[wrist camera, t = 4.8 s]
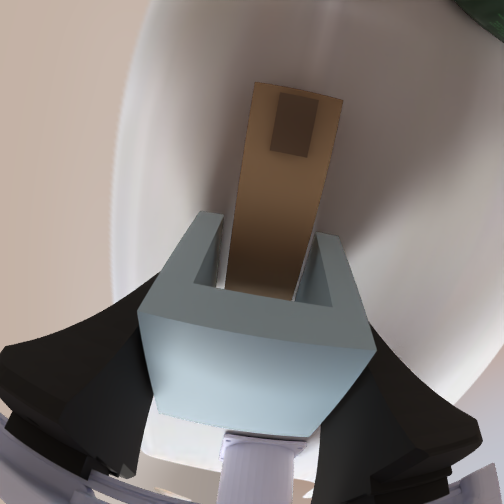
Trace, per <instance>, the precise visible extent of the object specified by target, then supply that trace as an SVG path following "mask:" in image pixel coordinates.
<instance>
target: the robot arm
mask: <svg viewBox="0 0 504 504" xmlns="http://www.w3.org/2000/svg"><path fill="white" fill-rule="evenodd" d="M160 272H161V271H160ZM160 272H159V273H160ZM159 273H157V274H156V275H155V276H153V277H152V278H151V279H149V280H148V281H147V282H145V283H144V284H143V285H141V286H140V287H138V288H137V289H136V290H134V291H133V292H132V293H130V294H129V295H127V296H126V297H124V298H122V299H121V300H119V301H118V302H116V303H115V304H113V305H112V306H110V307H108V308H107V309H105V310H103V311H102V312H99V313H98V314H96V315H94V316H92V317H90V318H88V319H86V320H84V321H82V322H79V323H77V324H75V325H72V326H70V327H68V328H66V329H64V330H61V331H58V332H55V333H53V334H50V335H47V336H44V337H41V338H37V339H34V340H30V341H26V342H22V343H18V344H14V345H9V346H5V347H4V349H3V350H2V351H1V353H0V398H1V399H2V401H3V402H4V403H5V404H6V405H7V406H8V407H9V408H10V409H11V410H12V411H13V412H12V413H11V416H10V417H9V419H8V418H6V417H5V416H4V415H3V414H1V413H0V498H1V499H2V500H3V501H4V502H5V503H6V504H109V503H107V502H105V501H102V500H100V499H97V498H96V497H95V495H94V492H93V490H92V489H94V490H96V491H98V492H100V493H103V494H105V495H107V496H110V497H112V498H115V499H117V500H120V501H122V502H125V503H128V504H199V503H194V502H189V501H185V500H181V499H176V498H173V497H169V496H165V495H161V494H158V493H154V492H151V491H148V490H145V489H142V488H139V487H136V486H133V485H130V484H127V483H125V482H122V481H119V480H117V479H114V478H112V477H109V474H110V475H113V476H115V477H119V476H120V477H123V478H125V479H129V478H131V477H134V476H135V475H136V470H137V464H138V458H139V453H140V447H141V443H142V438H143V434H144V429H145V425H146V421H147V417H148V413H149V410H150V406H151V402H152V399H153V395H154V393H153V389H152V385H151V381H150V377H149V372H148V368H147V363H146V358H145V353H144V348H143V343H142V338H141V332H140V326H139V320H138V314H137V310H138V308H139V307H140V305H141V303H142V301H143V300H144V298H145V296H146V295H147V293H148V291H149V290H150V288H151V286H152V285H153V283H154V281H155V280H156V278H157V277H158V275H159ZM368 322H369V321H368ZM369 325H370V329H371V332H372V335H373V339H374V342H375V346H376V349H377V351H376V352H375V354H374V355H373V357H372V358H371V360H370V361H369V363H368V364H367V366H366V367H365V368H364V370H363V371H362V373H361V374H360V375H359V377H358V378H357V379H356V381H355V382H354V383H353V385H352V386H351V387H350V389H349V390H348V391H347V393H346V394H345V395H344V396H343V398H342V399H341V400H340V402H339V403H338V404H337V405H336V406H335V408H334V409H333V410H332V411H331V412H330V414H329V415H328V416H327V417H326V418H325V420H324V421H323V422H322V423H321V433H320V447H319V457H318V466H317V473H316V480H315V485H314V491H313V496H312V500H311V504H502V500H501V493H500V487H499V482H498V477H497V472H496V468H495V464H494V463H491V464H489V465H487V466H485V467H483V468H481V469H479V470H477V471H475V472H473V473H471V474H469V475H467V476H465V477H464V478H462V479H461V480H459V481H456V482H454V483H452V484H449V485H448V480H447V476H450V475H451V474H452V469H451V465H453V464H455V463H456V462H458V461H460V460H461V459H463V458H464V457H466V456H468V455H469V454H470V453H472V452H473V451H475V450H476V449H477V448H478V447H479V446H480V445H481V444H482V442H483V440H482V436H481V432H480V429H479V426H478V422H477V420H476V419H475V418H473V417H471V416H470V415H468V414H466V413H465V412H463V411H461V410H459V409H458V408H456V407H455V406H453V405H452V404H450V403H449V402H448V401H446V400H445V399H443V398H442V397H441V396H439V395H438V394H437V393H436V392H434V391H433V390H432V389H431V388H429V387H428V386H427V385H426V384H425V383H424V382H422V381H421V380H420V379H419V378H418V377H417V376H416V375H415V374H414V373H413V372H412V371H411V370H410V369H409V368H408V367H407V366H406V365H405V364H404V363H403V362H402V361H401V360H400V359H399V358H398V357H397V356H396V355H395V354H394V352H393V351H392V350H391V349H390V348H389V347H388V345H387V344H386V343H385V342H384V341H383V339H382V338H381V337H380V336H379V334H378V333H377V332H376V331H375V329H374V328H373V327H372V325H371V324H370V323H369ZM306 447H307V443H306V442H298V441H282V440H270V439H261V438H252V437H245V436H238V435H231V434H225V435H224V438H223V442H222V447H221V451H220V455H219V461H222V462H223V465H222V471H221V478H220V483H219V489H218V495H217V501H216V504H292V498H293V476H294V458H295V457H296V456H297V455H298V454H300V453H301V452H302V451H303V450H304V449H305V448H306Z"/></svg>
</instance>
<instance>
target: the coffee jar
mask: <svg viewBox="0 0 504 504" xmlns="http://www.w3.org/2000/svg"><path fill="white" fill-rule="evenodd" d="M454 1H455V2H456V3H457V4H458V5H459V6H460V7H461V8H462V9H463V10H464V11H465V12H466V13H467V14H468V15H469V16H470V17H471V18H473V19H474V20H475V21H476V22H477V23H478V24H479V25H480V26H482V27H483V28H484V29H486V30H487V31H488V32H490V33H491V34H492V35H493V36H495V37H496V38H498V39H499V40H500V41H502V42H503V43H504V0H454Z"/></svg>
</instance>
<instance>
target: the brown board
mask: <svg viewBox="0 0 504 504" xmlns="http://www.w3.org/2000/svg"><path fill="white" fill-rule="evenodd" d="M342 104H343V100H341V99H337V98H333V97H329V96H325V95H321V94H317V93H313V92H308V91H304V90H299V89H294V88H289V87H284V86H278V85H272V84H266V83H259V82H255V85H254V91H253V97H252V103H251V109H250V115H249V121H248V127H247V133H246V140H245V146H244V152H243V159H242V165H241V172H240V179H239V186H238V192H237V199H236V206H235V213H234V221H233V228H232V235H231V243H230V250H229V258H228V265H227V273H226V281H225V290H231V291H236V292H242V293H247V294H253V295H258V296H264V297H270V298H276V299H282V300H288V301H291V300H292V297H293V294H294V290H295V287H296V284H297V281H298V277H299V274H300V271H301V267H302V264H303V260H304V257H305V254H306V250H307V247H308V243H309V240H310V236H311V232H312V229H313V225H314V221H315V218H316V214H317V210H318V206H319V203H320V199H321V195H322V191H323V187H324V183H325V179H326V175H327V171H328V167H329V163H330V158H331V154H332V150H333V145H334V141H335V137H336V132H337V128H338V123H339V118H340V113H341V109H342Z"/></svg>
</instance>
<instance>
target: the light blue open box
mask: <svg viewBox="0 0 504 504" xmlns="http://www.w3.org/2000/svg"><path fill="white" fill-rule="evenodd" d="M223 220H224V215H223V214H217V213H211V212H205V211H200V212H199V213H198V215H197V216H196V218H195V219H194V221H193V222H192V224H191V225H190V227H189V228H188V230H187V231H186V233H185V234H184V236H183V237H182V239H181V240H180V242H179V243H178V245H177V246H176V248H175V250H174V251H173V253H172V254H171V256H170V257H169V259H168V261H167V262H166V264H165V265H164V267H163V269H162V270H161V272H160V273H159V275H158V277H157V278H156V280H155V281H154V283H153V285H152V286H151V288H150V290H149V291H148V293H147V295H146V296H145V298H144V300H143V301H142V303H141V305H140V307H139V308H138V310H137V314H138V320H139V326H140V332H141V338H142V343H143V348H144V353H145V358H146V363H147V368H148V372H149V377H150V381H151V385H152V389H153V393H154V397H155V401H156V405H157V408H158V412H159V413H160V414H163V415H167V416H171V417H174V418H178V419H182V420H187V421H191V422H195V423H200V424H205V425H210V426H215V427H220V428H226V429H232V430H238V431H245V432H253V433H261V434H270V435H281V436H295V437H309V436H310V435H311V434H312V433H313V432H314V431H315V430H316V429H317V428H318V426H319V425H320V424H321V423H322V422H323V421H324V420H325V418H326V417H327V416H328V415H329V414H330V412H331V411H332V410H333V409H334V408H335V406H336V405H337V404H338V403H339V402H340V400H341V399H342V398H343V396H344V395H345V394H346V393H347V391H348V390H349V389H350V387H351V386H352V385H353V383H354V382H355V381H356V379H357V378H358V377H359V375H360V374H361V373H362V371H363V370H364V368H365V367H366V366H367V364H368V363H369V361H370V360H371V358H372V357H373V355H374V354H375V352H376V351H377V349H376V346H375V342H374V339H373V335H372V332H371V329H370V325H369V322H368V319H367V316H366V312H365V309H364V306H363V303H362V300H361V297H360V294H359V291H358V288H357V285H356V283H355V280H354V277H353V274H352V271H351V268H350V266H349V263H348V260H347V258H346V255H345V252H344V250H343V247H342V244H341V242H340V239H339V237H338V236H335V235H330V234H325V233H320V232H315V235H314V239H313V242H312V246H311V249H310V252H309V256H308V259H307V263H306V266H305V269H304V272H303V276H302V279H301V282H300V285H299V289H298V292H297V295H296V298H295V301H288V300H282V299H276V298H270V297H264V296H258V295H253V294H247V293H242V292H236V291H231V290H225V289H220V288H216V283H217V273H218V264H219V254H220V245H221V237H222V228H223Z"/></svg>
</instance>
